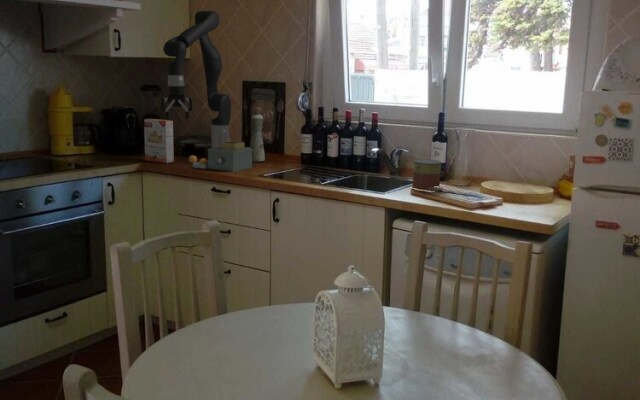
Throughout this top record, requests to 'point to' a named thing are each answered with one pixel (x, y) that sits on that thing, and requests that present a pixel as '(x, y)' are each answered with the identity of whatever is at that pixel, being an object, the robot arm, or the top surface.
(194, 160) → the bead
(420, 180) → the canned food
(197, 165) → the bead dish
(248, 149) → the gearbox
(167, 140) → the cracker box
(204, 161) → the bead
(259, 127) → the bottle
